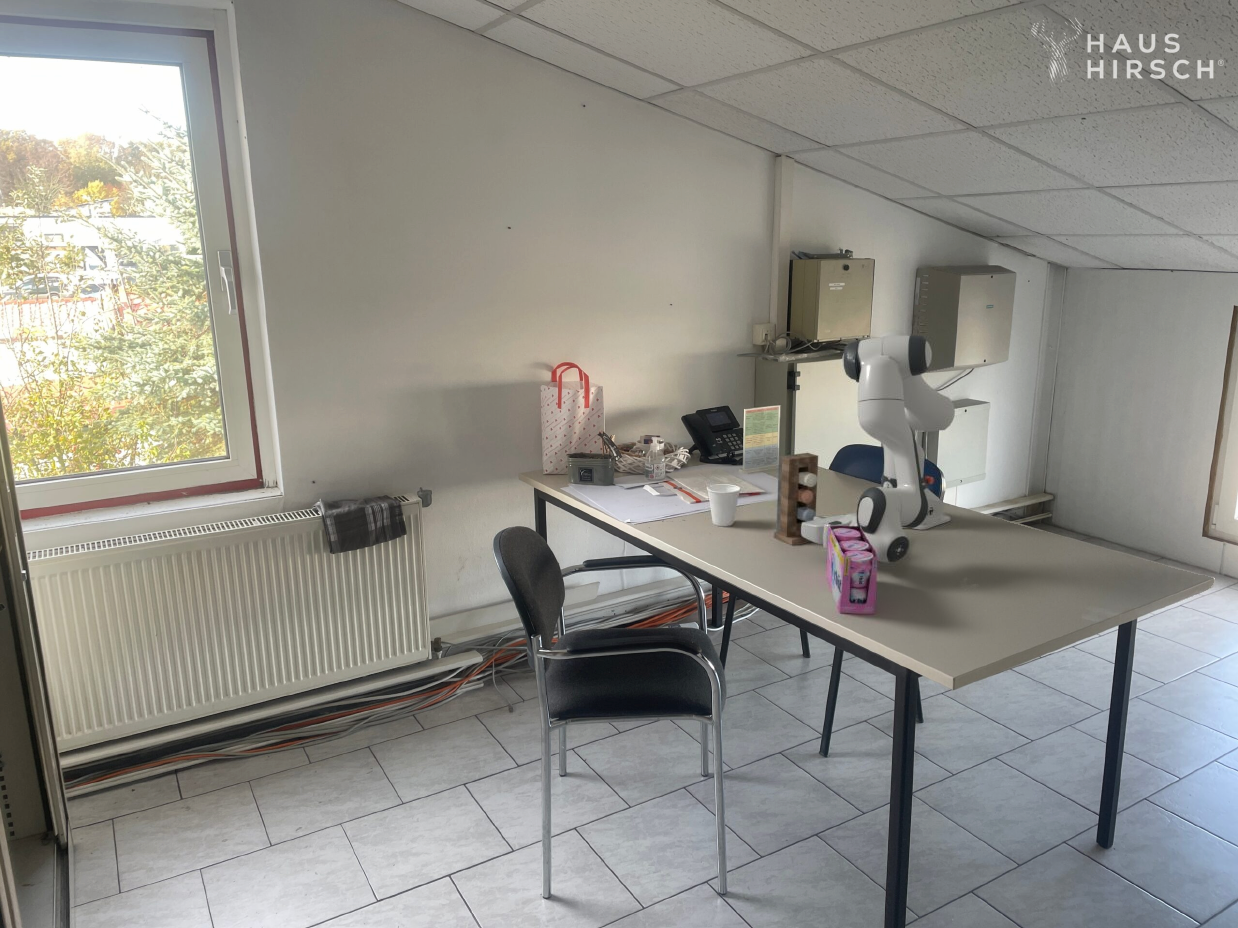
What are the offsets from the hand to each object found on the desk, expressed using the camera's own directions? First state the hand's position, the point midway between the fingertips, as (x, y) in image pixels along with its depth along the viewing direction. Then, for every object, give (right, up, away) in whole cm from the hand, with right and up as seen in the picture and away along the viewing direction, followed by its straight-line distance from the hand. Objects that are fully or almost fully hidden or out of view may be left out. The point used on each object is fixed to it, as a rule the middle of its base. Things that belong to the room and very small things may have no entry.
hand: (817, 518), depth 233 cm
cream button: (-3, +9, +2) cm, 10 cm away
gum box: (0, -16, -32) cm, 36 cm away
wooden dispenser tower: (-4, -6, +9) cm, 11 cm away
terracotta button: (-3, +4, +5) cm, 7 cm away
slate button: (-2, -1, +5) cm, 5 cm away
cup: (-23, -3, +23) cm, 33 cm away
